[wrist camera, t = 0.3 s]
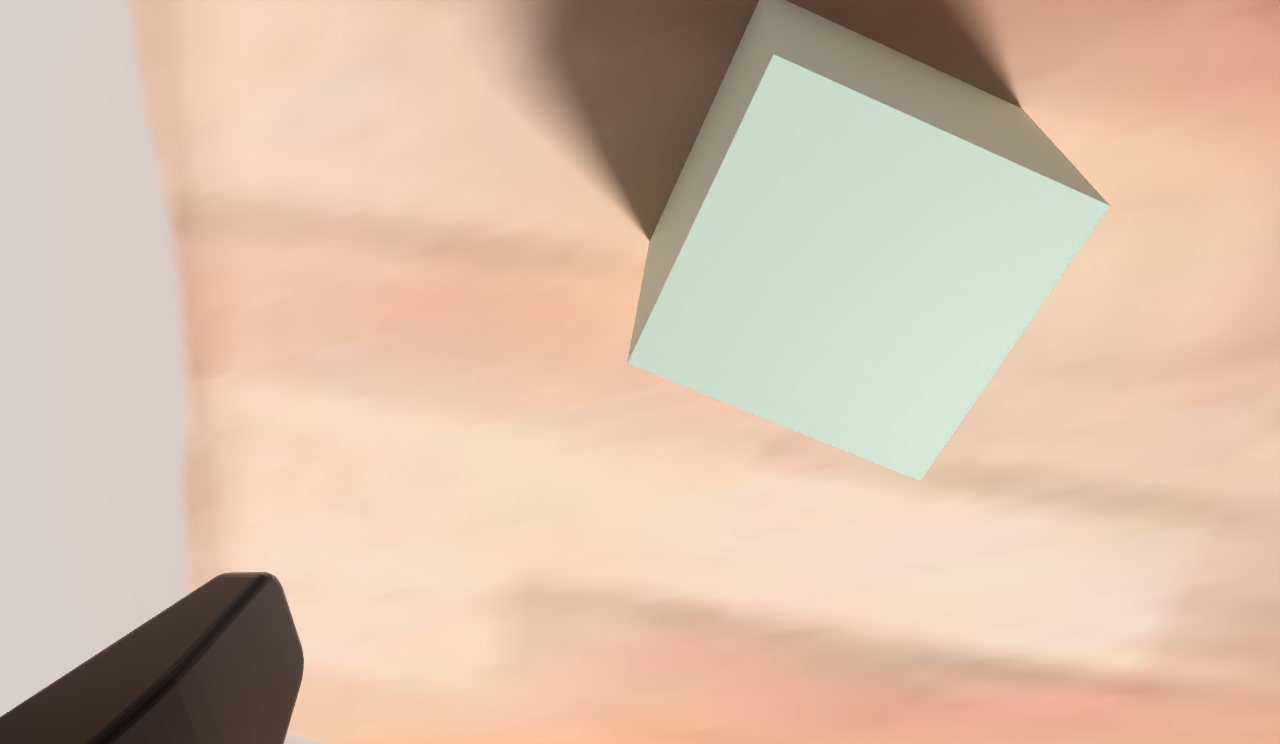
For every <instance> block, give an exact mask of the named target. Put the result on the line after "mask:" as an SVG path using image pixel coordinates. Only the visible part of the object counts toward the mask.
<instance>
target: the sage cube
mask: <svg viewBox="0 0 1280 744" xmlns="http://www.w3.org/2000/svg"><path fill="white" fill-rule="evenodd" d="M1109 206H1110V205H1109V204H1108V203H1107V202H1106V201H1105V200H1104V199H1103V198H1102V196H1101V195H1100V194H1099V193H1098V192H1097V191H1096V190H1095V189H1094V188H1093V186H1092V185H1091V184H1090V183H1089V182H1088V181H1087V180H1086V179H1085V178H1084V177H1083V175H1082V174H1081V173H1080V172H1079V171H1078V170H1077V169H1076V168H1075V167H1074V166H1073V164H1072V163H1071V162H1070V161H1069V160H1068V159H1067V158H1066V157H1065V156H1064V154H1063V153H1062V152H1061V151H1060V150H1059V149H1058V148H1057V147H1056V146H1055V145H1054V143H1053V142H1052V141H1051V140H1050V139H1049V138H1048V137H1047V136H1046V135H1045V134H1044V132H1043V131H1042V130H1041V129H1040V128H1039V127H1038V126H1037V125H1036V124H1035V122H1034V121H1033V120H1032V119H1031V118H1030V117H1029V116H1028V115H1027V114H1026V113H1025V111H1024V110H1023V109H1022V108H1020V107H1018V106H1016V105H1013V104H1011V103H1009V102H1007V101H1005V100H1003V99H1000V98H998V97H996V96H994V95H992V94H989V93H987V92H985V91H983V90H981V89H979V88H976V87H974V86H972V85H970V84H968V83H965V82H963V81H961V80H959V79H957V78H955V77H952V76H950V75H948V74H946V73H944V72H941V71H939V70H937V69H935V68H933V67H931V66H928V65H926V64H924V63H922V62H920V61H917V60H915V59H913V58H911V57H909V56H907V55H904V54H902V53H900V52H898V51H896V50H894V49H891V48H889V47H887V46H885V45H883V44H880V43H878V42H876V41H874V40H872V39H870V38H867V37H865V36H863V35H861V34H859V33H856V32H854V31H852V30H850V29H848V28H846V27H843V26H841V25H839V24H837V23H835V22H832V21H830V20H828V19H826V18H824V17H822V16H819V15H817V14H815V13H813V12H811V11H808V10H806V9H804V8H802V7H800V6H798V5H795V4H793V3H791V2H789V1H787V0H759V1H758V4H757V6H756V8H755V10H754V12H753V15H752V17H751V19H750V21H749V23H748V26H747V28H746V30H745V32H744V34H743V37H742V39H741V41H740V43H739V45H738V48H737V50H736V52H735V54H734V56H733V59H732V61H731V63H730V65H729V67H728V70H727V72H726V74H725V76H724V78H723V81H722V83H721V85H720V87H719V90H718V92H717V94H716V96H715V98H714V101H713V103H712V105H711V107H710V109H709V112H708V114H707V116H706V118H705V120H704V123H703V125H702V127H701V129H700V131H699V134H698V136H697V138H696V140H695V142H694V145H693V147H692V149H691V151H690V153H689V156H688V158H687V160H686V162H685V164H684V167H683V169H682V171H681V173H680V175H679V178H678V180H677V182H676V184H675V187H674V189H673V191H672V193H671V195H670V198H669V200H668V202H667V204H666V206H665V209H664V211H663V213H662V215H661V217H660V220H659V222H658V224H657V226H656V228H655V231H654V233H653V235H652V237H651V239H650V242H649V248H648V253H647V259H646V264H645V270H644V275H643V281H642V286H641V291H640V297H639V302H638V308H637V313H636V319H635V324H634V329H633V335H632V340H631V346H630V351H629V357H628V362H627V364H629V365H632V366H634V367H637V368H639V369H642V370H644V371H647V372H649V373H652V374H654V375H657V376H659V377H662V378H664V379H667V380H669V381H672V382H674V383H677V384H679V385H682V386H684V387H687V388H689V389H692V390H694V391H697V392H699V393H702V394H704V395H707V396H709V397H712V398H714V399H717V400H719V401H722V402H724V403H727V404H729V405H732V406H734V407H737V408H739V409H742V410H744V411H746V412H749V413H751V414H754V415H756V416H759V417H761V418H764V419H766V420H769V421H771V422H774V423H776V424H779V425H781V426H784V427H786V428H789V429H791V430H794V431H796V432H799V433H801V434H804V435H806V436H809V437H811V438H814V439H816V440H819V441H821V442H824V443H826V444H829V445H831V446H834V447H836V448H839V449H841V450H844V451H846V452H849V453H851V454H854V455H856V456H859V457H861V458H864V459H866V460H869V461H871V462H874V463H876V464H878V465H881V466H883V467H886V468H888V469H891V470H893V471H896V472H898V473H901V474H903V475H906V476H908V477H911V478H913V479H916V480H918V481H921V479H922V478H923V476H924V475H925V473H926V472H927V471H928V469H929V468H930V466H931V465H932V463H933V462H934V460H935V459H936V457H937V456H938V455H939V453H940V452H941V450H942V449H943V447H944V446H945V444H946V443H947V441H948V440H949V439H950V437H951V436H952V434H953V433H954V431H955V430H956V428H957V427H958V426H959V424H960V423H961V421H962V420H963V418H964V417H965V415H966V414H967V412H968V411H969V410H970V408H971V407H972V405H973V404H974V402H975V401H976V399H977V398H978V396H979V395H980V394H981V392H982V391H983V389H984V388H985V386H986V385H987V383H988V382H989V380H990V379H991V378H992V376H993V375H994V373H995V372H996V370H997V369H998V367H999V366H1000V365H1001V363H1002V362H1003V360H1004V359H1005V357H1006V356H1007V354H1008V353H1009V351H1010V350H1011V349H1012V347H1013V346H1014V344H1015V343H1016V341H1017V340H1018V338H1019V337H1020V335H1021V334H1022V333H1023V331H1024V330H1025V328H1026V327H1027V325H1028V324H1029V322H1030V321H1031V320H1032V318H1033V317H1034V315H1035V314H1036V312H1037V311H1038V309H1039V308H1040V306H1041V305H1042V304H1043V302H1044V301H1045V299H1046V298H1047V296H1048V295H1049V293H1050V292H1051V290H1052V289H1053V288H1054V286H1055V285H1056V283H1057V282H1058V280H1059V279H1060V277H1061V276H1062V275H1063V273H1064V272H1065V270H1066V269H1067V267H1068V266H1069V264H1070V263H1071V261H1072V260H1073V259H1074V257H1075V256H1076V254H1077V253H1078V251H1079V250H1080V248H1081V247H1082V245H1083V244H1084V243H1085V241H1086V240H1087V238H1088V237H1089V235H1090V234H1091V232H1092V231H1093V229H1094V228H1095V227H1096V225H1097V224H1098V222H1099V221H1100V219H1101V218H1102V216H1103V215H1104V214H1105V212H1106V211H1107V209H1108V208H1109Z"/></svg>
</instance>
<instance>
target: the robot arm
mask: <svg viewBox="0 0 1280 744" xmlns="http://www.w3.org/2000/svg"><path fill="white" fill-rule="evenodd" d="M303 668H304V658H303V651H302V646H301V643H300V640H299V637H298V634H297V631H296V628H295V624H294V621H293V618H292V615H291V612H290V609H289V606H288V603H287V600H286V597H285V594H284V591H283V588H282V586H281V584H280V582H279V580H278V579H277V578H276V577H275V576H274V575H272V574H270V573H267V572H231V573H224V574H221V575H219V576H217V577H215V578H213V579H212V580H210V581H209V582H207V583H206V584H204V585H203V586H201V587H200V588H198V589H196V590H195V591H193V592H192V593H190V594H189V595H187V596H186V597H184V598H183V599H181V600H180V601H178V602H177V603H175V604H174V605H172V606H171V607H169V608H167V609H166V610H164V611H163V612H161V613H160V614H158V615H157V616H155V617H153V618H152V619H150V620H149V621H147V622H146V623H144V624H143V625H141V626H140V627H138V628H137V629H135V630H134V631H132V632H130V633H129V634H127V635H126V636H125V637H123V638H121V639H120V640H118V641H117V642H115V643H114V644H112V645H110V646H109V647H107V648H106V649H104V650H103V651H101V652H100V653H98V654H97V655H95V656H94V657H92V658H91V659H89V660H88V661H86V662H84V663H83V664H81V665H80V666H78V667H77V668H75V669H74V670H72V671H70V672H69V673H68V674H66V675H64V676H63V677H61V678H60V679H58V680H57V681H55V682H54V683H52V684H50V685H49V686H47V687H46V688H44V689H43V690H41V691H40V692H38V693H37V694H35V695H34V696H32V697H31V698H29V699H27V700H26V701H24V702H23V703H22V704H20V705H18V706H17V707H15V708H14V709H12V710H11V711H9V712H7V713H6V714H4V715H3V716H1V717H0V744H284V740H285V737H286V733H287V730H288V727H289V723H290V720H291V716H292V713H293V709H294V706H295V702H296V699H297V695H298V692H299V688H300V685H301V681H302V676H303Z"/></svg>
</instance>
